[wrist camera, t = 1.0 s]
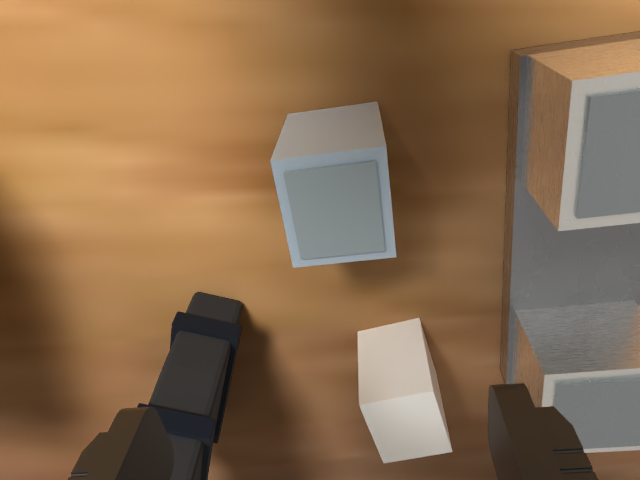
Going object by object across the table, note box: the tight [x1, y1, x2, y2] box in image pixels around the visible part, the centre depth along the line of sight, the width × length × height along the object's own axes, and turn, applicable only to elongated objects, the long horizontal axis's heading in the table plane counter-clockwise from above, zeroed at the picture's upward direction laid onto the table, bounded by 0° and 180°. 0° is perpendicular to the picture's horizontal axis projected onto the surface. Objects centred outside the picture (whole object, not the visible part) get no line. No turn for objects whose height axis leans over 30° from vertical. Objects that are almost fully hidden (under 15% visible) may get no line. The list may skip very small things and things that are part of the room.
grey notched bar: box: [500, 31, 640, 453], centre depth 24 cm, size 20×7×7 cm, turn 9°
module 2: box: [358, 318, 452, 463], centre depth 30 cm, size 5×4×6 cm
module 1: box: [270, 101, 396, 268], centre depth 23 cm, size 5×4×7 cm
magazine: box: [137, 292, 242, 480], centre depth 29 cm, size 4×13×15 cm, turn 166°
